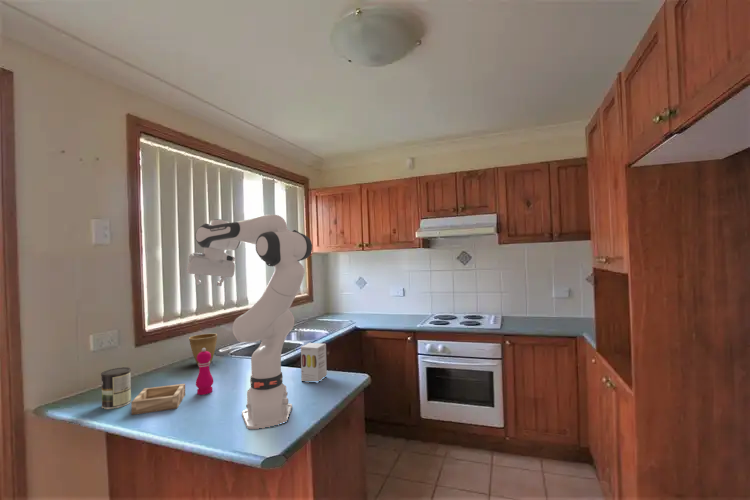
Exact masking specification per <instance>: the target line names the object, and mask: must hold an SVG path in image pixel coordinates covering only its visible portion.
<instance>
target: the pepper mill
mask: <svg viewBox="0 0 750 500" xmlns="http://www.w3.org/2000/svg"><path fill="white" fill-rule="evenodd" d="M210 359H211V353H210V352H208V351H206V348H203V349H202V352H200V353H199V354H198V355H197V361H198V362H199V363H198V365H197V367H198V369H199V372H198V374H197V378H196V380H195V387H197V390H196V391H197V392H196V393H197V395H199V396H200V395H201V396H203V395H208V394H211V393H212V392H213V384H214V377H213V376H212V373H211V371H210V365H211V363H210Z"/></svg>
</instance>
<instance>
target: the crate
mask: <svg viewBox="0 0 750 500" xmlns="http://www.w3.org/2000/svg"><path fill="white" fill-rule="evenodd" d="M185 396H186V383H177V384H170V385H162V386H154V387H144V388H143V389H142V390H141V391H140V392H139V393H138V395H136V397H134V399H133V400H131V402H130V404H131V406H130V407H131V415H132V416H133V415H139V414H141V415H142V414H148V413H154V412H155V413H156V412H163V411H169V410H170V411H171V410H177V409H178V408H179V406H180V405H181V403H182V402H183V399H184V398H185Z"/></svg>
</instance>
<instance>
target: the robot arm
mask: <svg viewBox="0 0 750 500" xmlns="http://www.w3.org/2000/svg"><path fill="white" fill-rule="evenodd" d="M287 225H288V224H287V222H286V220H285V219H284V218H283V217H282V216H281V215H278V214H265V215H264V214H263V215H260V216H257V217H256V216H255V217H253V218H248V219H244V220H239V221H233V222H229V221H228V220H225V219H219V218H217V219H212V220H210V223H203V224H201V225H200V226H198V228H197V229H196V231H195V235H194V236H195V237H194V239H195V241H196V243H197V244H198V245H199V246H200V248H204V249H203V253H200V252H199V253H198V252H193V253H191V254H190V255H189V258H188V264H187V266H186V267H187V268H186V272H187V273H188V274H190V275H193V276H194V279H195V285H197V286H200V285H202V280H200V279H199V278H200V275H201V276H204V275H205V276H213V277H220V280H219V281H216V286H217V287H222V285H223V282H224V281H225V280H226V278H232V277H234V275H235V270H236V265H235V261H236V258H235V256H233V255H231V254H229V253H227V251H235V250H237V249H238V248H239V247H240V246H241V244H242V243H246V244H251V245H255V251H256V253H257V255H258V257H259V258H260V259H261V260H262V261H263V262H265V264H266V265H267V266H268V267H274V271H273V274H272V276H271V278H270V279H269V282H268V284H267V286H266V288H265V289H264V292H263V294H262V295H261V297H260V298H259V299H258V300H257V301H256V302H255V303H254V305H253V306H252V307H250V308H249V309H248V310H247V311H246V312H244V313H243V314H241V315H239V316H238V317H236V318H235V319H234V321H233V323H232V333H233V334H232V335H234V338H235V339H236V341H238V342H240V343H256V342H259V341H261V342H260V344H259V345H258V347H257V348H256V349H255V351H253V353H252V354H251V358H250V361H251V362H250V363H251V364H250V365H251V369H250V370H251V375H250V380H249V382H250V388H249V389H248V390H247V391H246V409H243V410H242V411H241V415H242V419H243V421H244V424H245V426H246V428H247V429H248V430H249V429H250V430H259V428H262V429H266V428H265V427H269V428H271V427H270V426H274V425H278V424H280V423H283V422H286V421H287V420H288V421H289V419H288V417H289V418H290V416H289V414H290V415H291V413H290V411H291V412H292V410H291V408H292V409H293V404H292V403H289V398H288V397H287V396H288V391H287V386H286V385H285V384H284V383H283V372H282V351H283V347H284V344H285V341H286V339H287V336H288V335H289V334H290V332H291V331H292V330H293V328H294V326H295V317H294V314H293V312H292V311H291V310H290V309H291V306H292V304H293V302H294V301H295V298H296V297H297V294H298V292H299V291H300V288H301V285H302V283H303V280H304V276H305V268H304V266H303V264H302V263H300V261H304V260H307V259H308V258H309V257H310V256H311V255H312V252H313V243H312V241H311V239H310V237H309V236H307V235H306V234H303V233H301V232H299V231H297V230H296V229H293V230H289V229H288V226H287ZM278 426H279V425H278ZM274 427H275V426H274Z"/></svg>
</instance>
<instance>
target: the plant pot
mask: <svg viewBox="0 0 750 500" xmlns="http://www.w3.org/2000/svg"><path fill="white" fill-rule="evenodd" d="M188 339H189V345H190V348H191V352H192V355H193V358H194V360H195V363H196V365H197V366H198V363H199V362H198V361H197V355H198V354H199V353H200V352H202V349H203V348H206V351H208V352H210V353H211V359H210V364H211V363H212V361H213V359H214V356H215V352H216V347H217V341H218V340H217V339H218V334H217V333H201V334H195V335H191V336H190V337H188Z"/></svg>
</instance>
